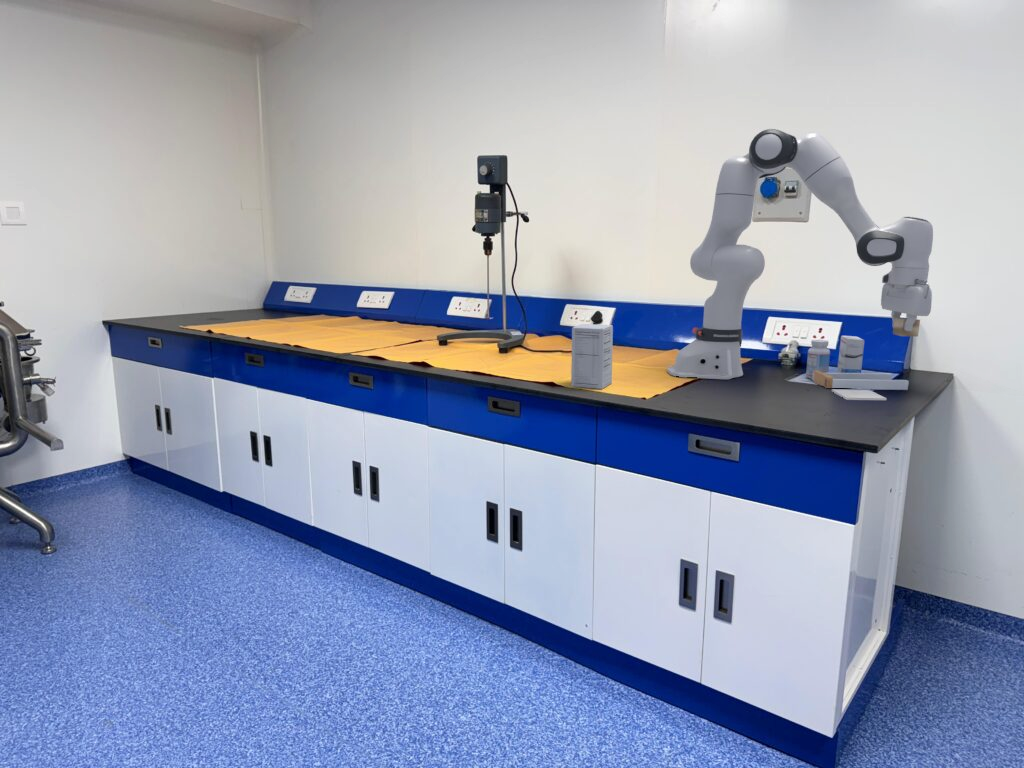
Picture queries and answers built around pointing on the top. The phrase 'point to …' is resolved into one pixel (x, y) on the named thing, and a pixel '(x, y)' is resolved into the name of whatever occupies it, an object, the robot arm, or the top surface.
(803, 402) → the top surface
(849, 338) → the ink box
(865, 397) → the tile
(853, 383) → the channel
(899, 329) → the cube
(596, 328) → the supplement box
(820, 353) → the pill bottle
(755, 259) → the robot arm
